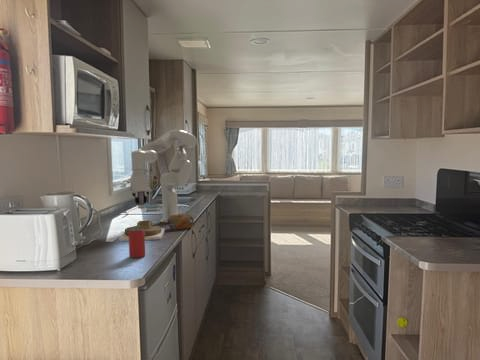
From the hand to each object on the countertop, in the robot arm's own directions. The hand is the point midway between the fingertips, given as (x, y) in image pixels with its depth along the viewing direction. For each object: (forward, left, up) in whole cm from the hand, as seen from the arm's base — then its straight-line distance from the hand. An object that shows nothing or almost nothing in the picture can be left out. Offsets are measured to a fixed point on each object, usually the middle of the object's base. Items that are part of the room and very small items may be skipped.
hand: (141, 203), depth 208 cm
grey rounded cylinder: (0, 0, -3) cm, 3 cm away
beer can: (+58, +8, -15) cm, 60 cm away
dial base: (+18, +4, -15) cm, 24 cm away
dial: (+18, +4, -13) cm, 22 cm away
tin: (+3, +23, -16) cm, 28 cm away
